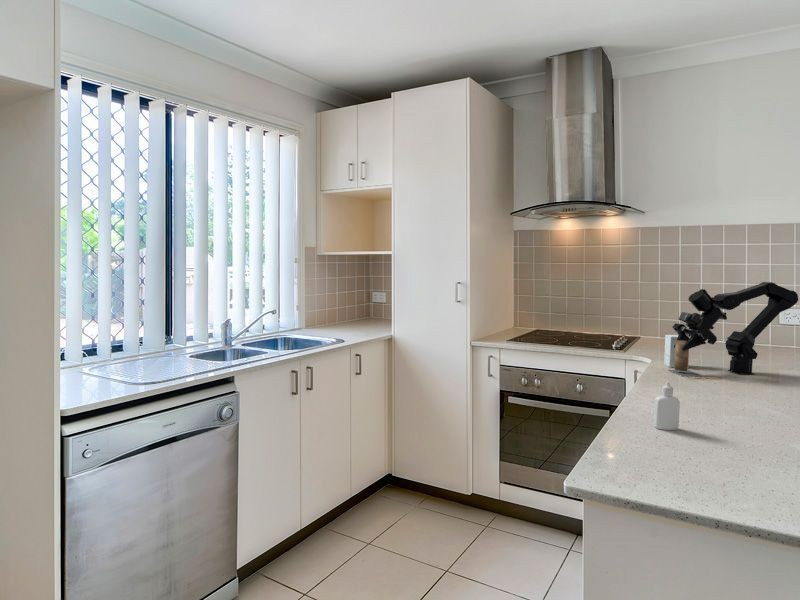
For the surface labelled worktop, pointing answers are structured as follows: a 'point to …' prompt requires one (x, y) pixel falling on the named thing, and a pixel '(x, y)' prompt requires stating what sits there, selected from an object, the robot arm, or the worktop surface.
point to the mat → (685, 373)
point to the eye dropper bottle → (666, 410)
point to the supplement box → (670, 350)
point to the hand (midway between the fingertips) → (678, 348)
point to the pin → (681, 356)
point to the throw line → (702, 377)
